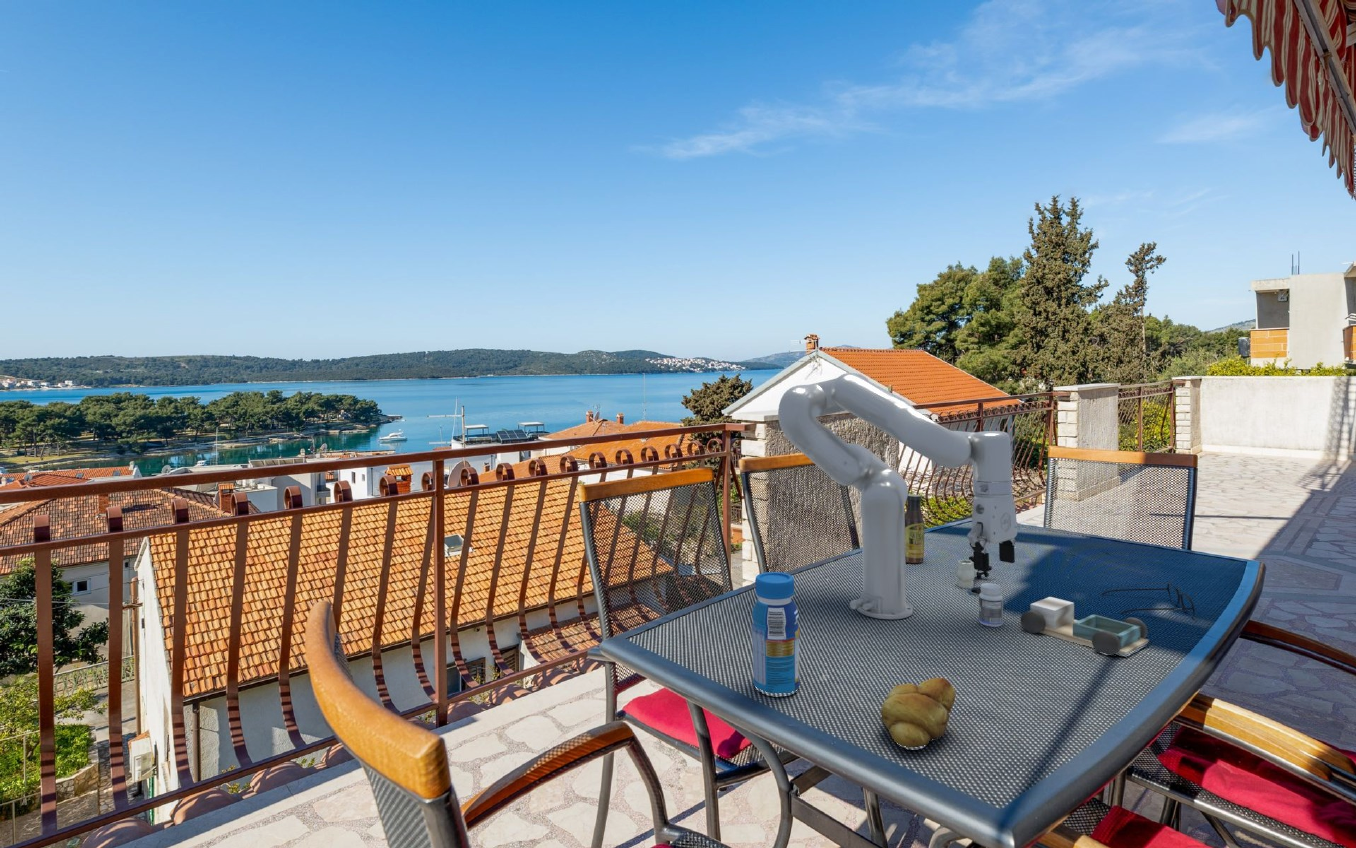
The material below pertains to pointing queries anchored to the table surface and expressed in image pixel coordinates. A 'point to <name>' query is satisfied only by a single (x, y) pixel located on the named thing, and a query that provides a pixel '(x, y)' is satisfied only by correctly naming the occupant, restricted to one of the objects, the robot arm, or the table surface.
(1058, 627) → the toy car chassis
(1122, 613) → the glasses
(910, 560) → the sauce bottle
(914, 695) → the bread roll
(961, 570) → the valve
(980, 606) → the pill bottle
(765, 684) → the beverage bottle
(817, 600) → the table surface
